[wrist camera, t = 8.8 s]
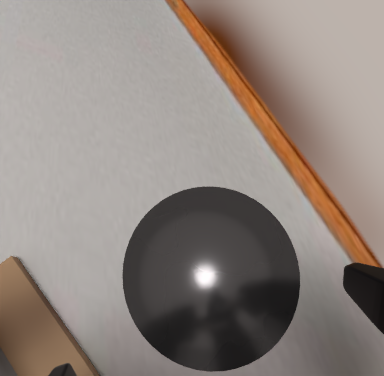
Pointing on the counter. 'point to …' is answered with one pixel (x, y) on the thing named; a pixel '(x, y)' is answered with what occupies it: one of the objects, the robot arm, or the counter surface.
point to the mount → (33, 329)
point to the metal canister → (211, 279)
